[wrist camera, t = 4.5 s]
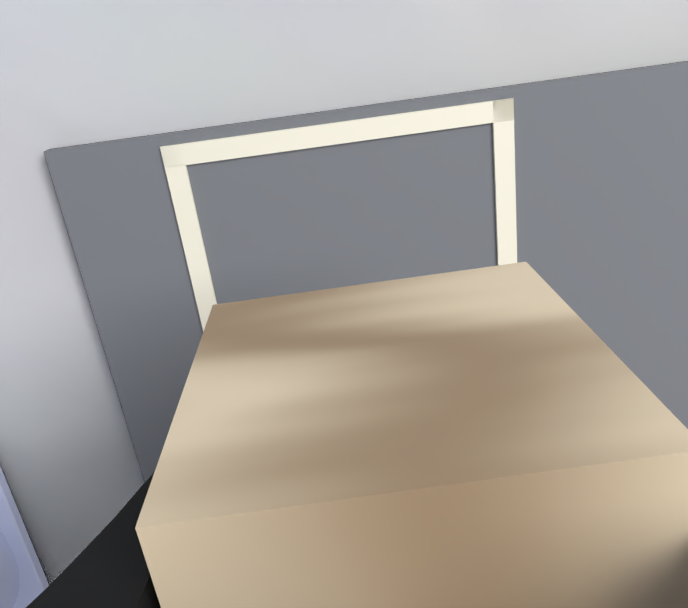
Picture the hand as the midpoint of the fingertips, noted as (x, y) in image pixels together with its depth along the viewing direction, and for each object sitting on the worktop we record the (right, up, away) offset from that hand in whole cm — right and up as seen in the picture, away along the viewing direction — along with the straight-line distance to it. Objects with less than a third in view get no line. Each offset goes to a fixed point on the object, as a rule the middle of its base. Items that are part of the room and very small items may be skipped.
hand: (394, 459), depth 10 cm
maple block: (0, 0, +1) cm, 1 cm away
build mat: (+3, -1, +9) cm, 10 cm away
